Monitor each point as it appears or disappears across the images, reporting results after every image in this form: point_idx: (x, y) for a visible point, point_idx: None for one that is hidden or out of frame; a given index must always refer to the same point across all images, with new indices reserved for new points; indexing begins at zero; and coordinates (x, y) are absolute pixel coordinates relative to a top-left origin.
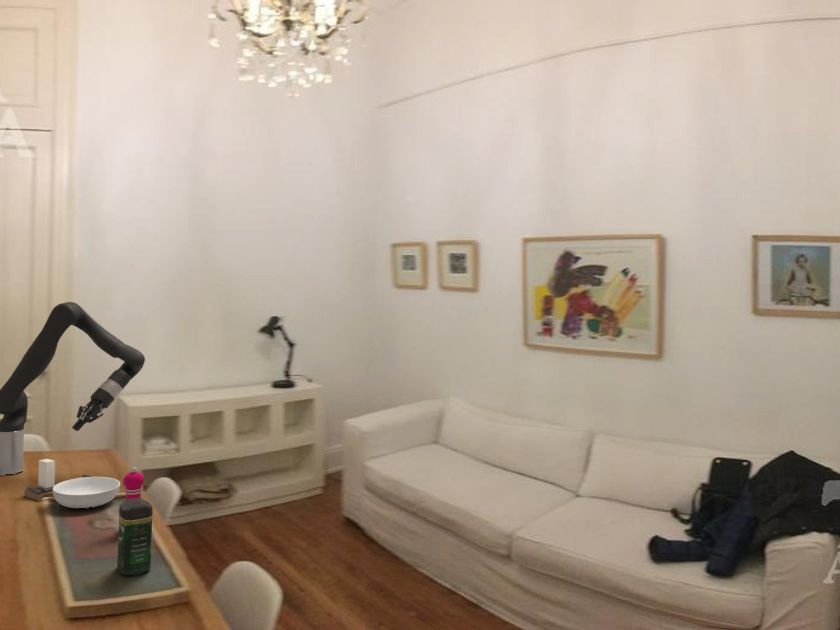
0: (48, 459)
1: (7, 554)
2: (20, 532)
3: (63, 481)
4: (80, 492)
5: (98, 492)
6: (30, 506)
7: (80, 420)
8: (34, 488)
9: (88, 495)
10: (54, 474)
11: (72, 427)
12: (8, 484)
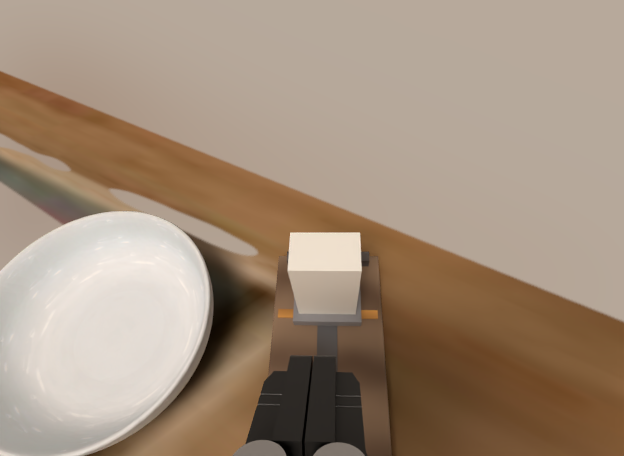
0: (341, 266)
1: (55, 93)
2: (119, 141)
3: (208, 286)
4: (186, 357)
5: (131, 409)
6: (261, 229)
7: (274, 433)
8: (376, 287)
9: (14, 260)
10: (295, 295)
11: (328, 356)
12: (567, 302)
